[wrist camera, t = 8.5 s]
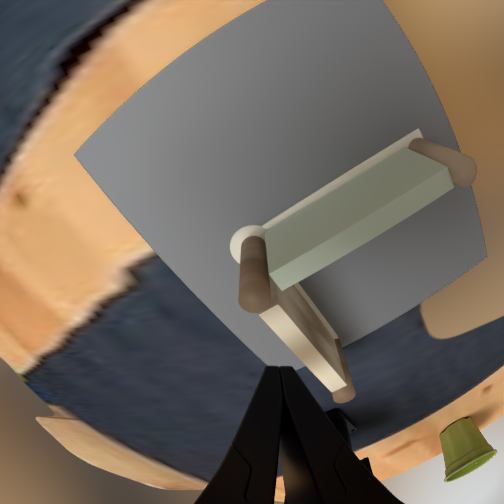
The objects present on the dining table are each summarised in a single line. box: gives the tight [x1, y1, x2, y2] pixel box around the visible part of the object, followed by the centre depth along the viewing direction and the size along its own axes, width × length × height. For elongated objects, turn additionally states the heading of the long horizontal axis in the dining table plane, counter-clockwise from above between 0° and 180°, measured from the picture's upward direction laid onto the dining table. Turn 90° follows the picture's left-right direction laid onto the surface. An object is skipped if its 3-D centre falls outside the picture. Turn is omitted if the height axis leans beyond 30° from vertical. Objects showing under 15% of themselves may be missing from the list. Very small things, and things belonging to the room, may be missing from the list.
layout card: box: [74, 0, 487, 370], centre depth 19 cm, size 24×21×1 cm
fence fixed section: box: [238, 236, 355, 403], centre depth 20 cm, size 13×2×6 cm, turn 35°
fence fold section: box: [265, 138, 477, 291], centre depth 15 cm, size 12×2×5 cm, turn 124°
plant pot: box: [440, 417, 497, 482], centre depth 32 cm, size 9×9×9 cm
